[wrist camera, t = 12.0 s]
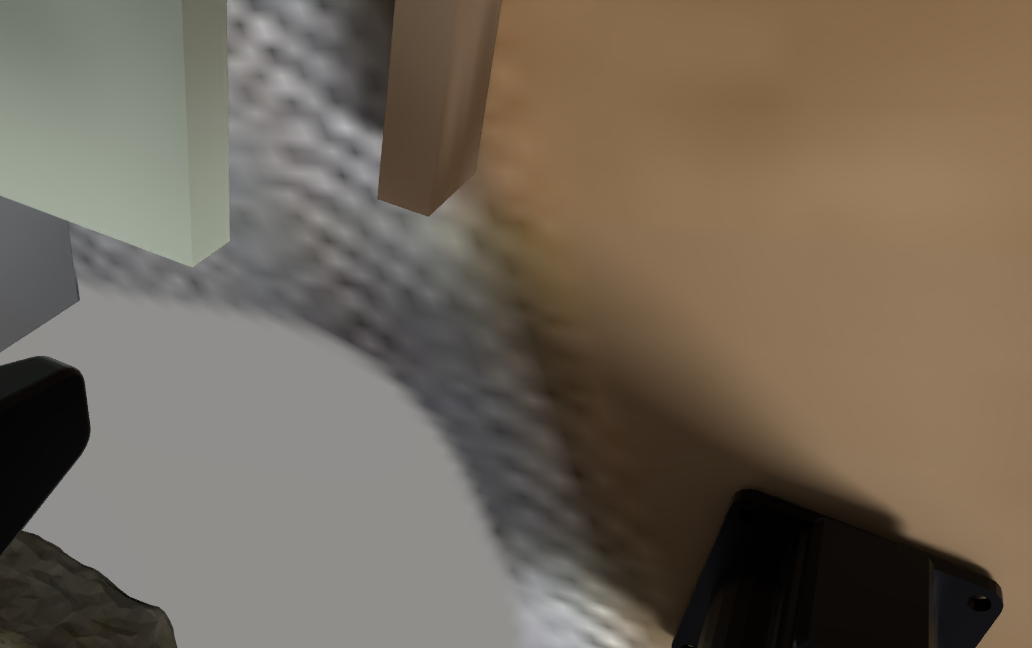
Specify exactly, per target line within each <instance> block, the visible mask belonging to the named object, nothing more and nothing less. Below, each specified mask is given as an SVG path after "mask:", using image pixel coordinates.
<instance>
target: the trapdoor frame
mask: <svg viewBox="0 0 1032 648" xmlns="http://www.w3.org/2000/svg"><path fill="white" fill-rule="evenodd" d="M501 1H502V0H395V8H394V19H393V30H392V41H391V52H390V64H389V75H388V86H387V97H386V109H385V120H384V131H383V142H382V154H381V165H380V176H379V187H378V200H381V201H384V202H387V203H390V204H393V205H396V206H399V207H402V208H405V209H408V210H411V211H414V212H417V213H420V214H422V215H425V216H428V217H429V216H430V215H431V214H432V213H433V212H434V211H435V210H436V209H437V208H438V207H439V206H440V205H441V204H443V203H444V202H445V201H446V200H447V199H448V198H449V197H450V196H451V195H452V194H453V193H454V192H455V191H456V190H457V189H459V188H460V187H461V186H462V185H463V184H464V183H465V182H466V181H467V180H468V179H469V178H470V177H471V176H472V175H473V174H474V173H475V170H476V163H477V157H478V150H479V144H480V137H481V131H482V124H483V118H484V111H485V105H486V98H487V92H488V85H489V79H490V72H491V66H492V59H493V53H494V46H495V40H496V33H497V27H498V20H499V14H500V7H501Z"/></svg>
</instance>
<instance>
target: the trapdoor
mask: <svg viewBox="0 0 1032 648" xmlns="http://www.w3.org/2000/svg"><path fill="white" fill-rule="evenodd" d="M0 196H3V197H5V198H8V199H11V200H13V201H16V202H19V203H21V204H24V205H27V206H29V207H32V208H35V209H37V210H40V211H43V212H45V213H48V214H51V215H53V216H56V217H59V218H61V219H64V220H67V221H69V222H72V223H75V224H77V225H80V226H83V227H85V228H88V229H91V230H93V231H96V232H99V233H101V234H104V235H107V236H109V237H112V238H115V239H117V240H120V241H123V242H125V243H128V244H131V245H133V246H136V247H139V248H141V249H144V250H147V251H149V252H152V253H155V254H157V255H160V256H163V257H165V258H168V259H171V260H173V261H176V262H179V263H181V264H184V265H187V266H189V267H192V268H193V267H194V266H196V265H197V264H199V263H200V262H201V261H203V260H204V259H206V258H207V257H208V256H210V255H211V254H213V253H214V252H215V251H217V250H218V249H220V248H221V247H222V246H224V245H225V244H227V243H228V242H230V214H229V139H228V65H227V0H0Z"/></svg>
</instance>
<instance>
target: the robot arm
mask: <svg viewBox="0 0 1032 648" xmlns="http://www.w3.org/2000/svg"><path fill="white" fill-rule="evenodd" d="M85 390H86V389H85V382H84V378H83V376H82V374H81V373H80V371H79V370H78V369H76V368H75V367H72V366H70V365H67V364H65V363H63V362H60V361H58V360H55V359H53V358H50V357H46V356H36V357H31V358H27V359H24V360H20V361H16V362H12V363H9V364H5V365H2V366H0V557H1V556H2V555H3V553H4V552H5V551H6V550H7V548H8V547H9V546H10V545H11V543H12V542H13V541H14V539H15V538H16V537H17V536H18V534H19V533H20V532H21V531H22V529H23V528H24V527H25V526H26V524H27V523H28V522H29V520H30V519H31V518H32V517H33V515H34V514H35V513H36V511H37V510H38V509H39V508H40V507H41V505H42V504H43V503H44V501H45V500H46V499H47V498H48V496H49V495H50V494H51V493H52V491H53V490H54V489H55V487H56V486H57V485H58V484H59V482H60V481H61V480H62V479H63V477H64V476H65V475H66V474H67V472H68V471H69V470H70V468H71V467H72V466H73V465H74V463H75V462H76V461H77V460H78V458H79V457H80V456H81V454H82V453H83V451H84V449H85V447H86V446H87V443H88V440H89V437H90V420H89V412H88V405H87V397H86V391H85ZM745 507H750V508H753V509H755V510H757V511H758V512H756V513H751V512H748V511H746V510H745V509H744V508H745ZM976 595H979V596H984V597H986V598H985V599H975V598H973V597H971V596H976ZM1002 609H1003V595H1002V590H1001V587H1000V586H999V585H998V584H997V582H996V581H994V580H992V579H990V578H988V577H986V576H983V575H980V574H978V573H975V572H972V571H970V570H967V569H965V568H962V567H959V566H957V565H954V564H951V563H949V562H946V561H943V560H941V559H938V558H935V557H933V556H930V555H927V554H925V553H922V552H919V551H917V550H914V549H912V548H909V547H906V546H904V545H901V544H898V543H896V542H893V541H890V540H888V539H885V538H882V537H880V536H877V535H874V534H872V533H869V532H866V531H864V530H861V529H858V528H856V527H853V526H851V525H848V524H845V523H843V522H840V521H837V520H835V519H832V518H829V517H827V516H824V515H821V514H819V513H816V512H813V511H811V510H808V509H805V508H803V507H800V506H798V505H795V504H792V503H790V502H787V501H784V500H782V499H779V498H776V497H774V496H771V495H768V494H766V493H763V492H760V491H758V490H753V489H743V490H740V491H738V492H736V493H735V495H734V496H733V497H732V499H731V502H730V504H729V506H728V509H727V511H726V514H725V516H724V518H723V521H722V523H721V525H720V528H719V530H718V533H717V535H716V537H715V540H714V542H713V544H712V547H711V549H710V552H709V554H708V556H707V559H706V561H705V563H704V566H703V568H702V571H701V573H700V575H699V578H698V580H697V582H696V585H695V587H694V590H693V592H692V594H691V597H690V599H689V601H688V604H687V606H686V609H685V611H684V613H683V616H682V618H681V620H680V623H679V625H678V628H677V630H676V632H675V635H674V639H673V642H672V648H976V646H977V645H978V643H979V642H980V641H981V639H982V638H983V637H984V635H985V634H986V632H987V631H988V630H989V628H990V627H991V626H992V624H993V623H994V621H995V620H996V619H997V617H998V616H999V615H1000V613H1001V612H1002ZM688 645H690V646H688ZM691 646H693V647H691Z"/></svg>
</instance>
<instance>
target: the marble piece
mask: <svg viewBox="0 0 1032 648" xmlns="http://www.w3.org/2000/svg"><path fill="white" fill-rule="evenodd" d="M0 648H177V645H176V641H175V637H174V629H173V626H172V624H171V622H170V620H169V618H168V616H167V615H166V613H165V612H164V611H163V610H162V609H161V608H160V607H157V606H154V605H150V604H147V603H144V602H142V601H139V600H137V599H134V598H132V597H130V596H128V595H127V594H126V593H124V592H123V591H122V590H120V589H119V588H118V587H117V586H116V585H115V584H114V583H112V582H111V581H110V580H109V579H108V578H107V577H105V576H104V575H103V574H101V573H100V572H99V571H98V570H96V569H94V568H92V567H89V566H86V565H83V564H81V563H80V562H78V561H77V560H75V559H74V558H72V557H71V556H69V555H68V554H66V553H64V551H63V550H62V549H61V548H60V547H58V546H56V545H55V544H53V543H51V542H49V541H46V540H44V539H43V538H41V537H40V536H39V535H36V534H33V533H29V532H26V531H21V532H20V533H19V534H18V536H17V537H16V538H15V539H14V541H13V542H12V543H11V545H10V546H9V547H8V548H7V550H6V551H5V552H4V553H3V555H2V556H1V557H0Z"/></svg>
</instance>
